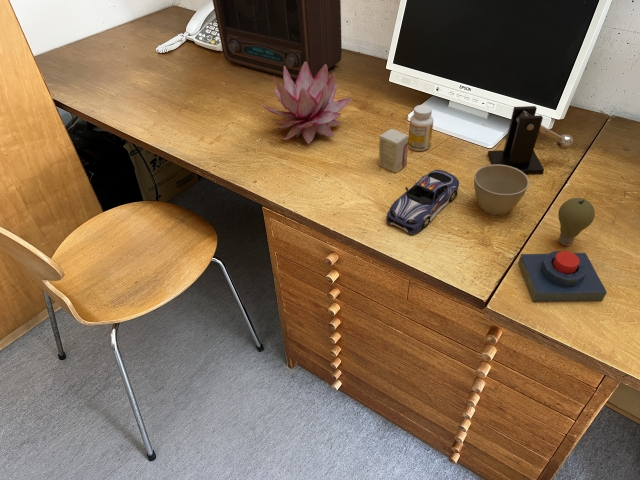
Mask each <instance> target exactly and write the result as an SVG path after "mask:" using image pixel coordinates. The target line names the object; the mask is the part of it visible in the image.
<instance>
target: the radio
mask: <svg viewBox="0 0 640 480" xmlns="http://www.w3.org/2000/svg"><path fill="white" fill-rule="evenodd" d="M341 3H342V1H341V0H212V5H213V9H214V15H215V20H216V24H217V30H218V34H219V35H218V36H219V40H220V45H221V50H222V53H223V56H224V58H225V59H226V61H227V62H231V63H233V64H237V65H241V66H244V67H248V68H251V69H253V70H254V69H255V70H259V71H262V72H265V73H270V74H274V75H278V76H282V77H283V72H284V66H285V67H286V69H287V71H288V73H289V75H290V77H291V79H292V80H297V78H298V75H299V72H300V70H301V68H302V66H303V64H304V62H307V64H308V66H309V69H310V71H311V74H312V78H313V79H314V78H315V76H316V75H317V74H318V72H319V71H320V70H321V68H322V67H323V66H324V64H327V68H328V70H330V69H331V68H333V67H334V66H335V65H337V64H339V63H340V62H341V60H342V54H343V53H342V52H343V51H342V6H341V5H342V4H341Z"/></svg>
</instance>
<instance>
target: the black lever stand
mask: <svg viewBox="0 0 640 480" xmlns="http://www.w3.org/2000/svg"><path fill="white" fill-rule="evenodd" d="M537 109H538V108H537V106H536V105H526V106H513V109H512V114H511V118H510V122H509V126H508V131H507V134H506V139H505V142H504V147H503V150H488V152H487V157H488V159H489V160H488V161H489V162H490V165H496V164H498V165H507V166H511V167H514V168H516V169H518V170H520V171H522V172H523V173H524V174H525V175H543V174H544V172H545V168H544V166H543V164H542V163H541V161H540V159H539V157H538V156H537V154H536V152H535V150H534V149H535V147H536V143H537V141H538V137H539V134H540V133H539V132H540V131H539V129H540V126H541V125H542V122H543V120H544V118H543V116H542V115H536V112H537ZM523 110H525V111H526V112H528V113H530V114H532V115H533V116H519V115H520V114H521V113H522V111H523ZM518 116H519V120H518V122H517V121H516V118H517V117H518Z"/></svg>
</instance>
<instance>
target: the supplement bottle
mask: <svg viewBox="0 0 640 480" xmlns="http://www.w3.org/2000/svg"><path fill="white" fill-rule="evenodd" d="M432 112H433V109H432V107H431V106H429V105H426V104H418V105H416V106H414V108H413V114H412V116H411V117H410V118H409V125H408V126H409V127H408V148H409V149H411V150H412V151H415V152H424V151H427V150H429V148H430V146H431V144H432V143H431V142H432V135H433V128H434V118H433V116H432V114H433V113H432Z"/></svg>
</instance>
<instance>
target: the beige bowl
mask: <svg viewBox="0 0 640 480" xmlns="http://www.w3.org/2000/svg"><path fill="white" fill-rule="evenodd" d="M473 176H474V177H473V187H474V193H475V197H476V199H477V202H478V204H479V206H480V208H481V210H482V211H483V212H484V213H486V214H488V215H490V216H503V215H505V214H507V213H508V212H509V211H511V210H512V209H514V207H516V205H517V204H518V203H519V202H520V201H521V200H522V198H524V195H525V193H526V192H527V190H528V188H529V186H530V180H529V178H528V175H527V174H524V173H523V172H522V171H520V170H518V169H516V168H514V167H511V166H507V165H498V164H496V165H492V164H488V165H484V166H481V167H479V168H478V169H477V170H476V171H475V173H474V175H473Z"/></svg>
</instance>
